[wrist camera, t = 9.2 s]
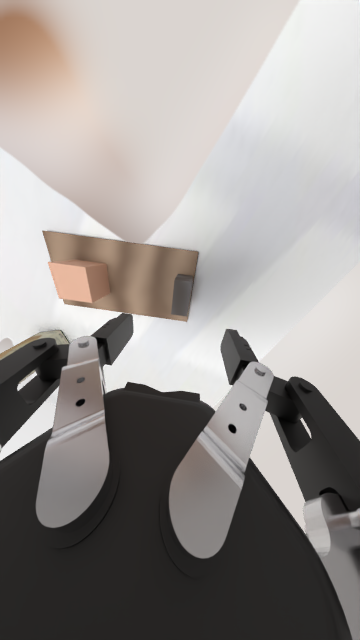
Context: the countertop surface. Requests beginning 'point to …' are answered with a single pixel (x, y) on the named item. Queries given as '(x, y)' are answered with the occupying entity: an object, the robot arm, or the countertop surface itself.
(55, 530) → the robot arm
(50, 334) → the skincare box
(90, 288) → the terracotta block
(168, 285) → the walnut strip
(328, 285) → the countertop surface
